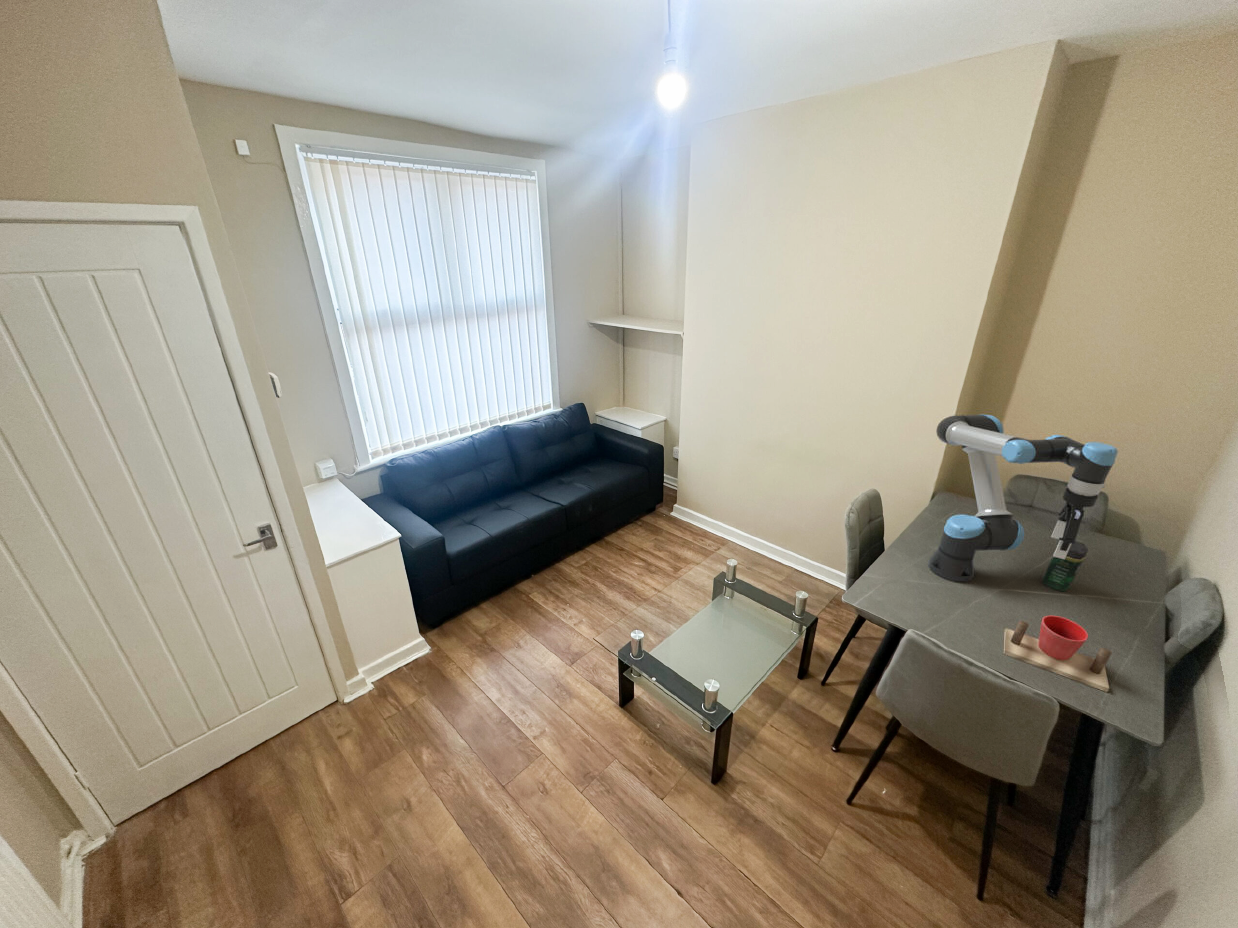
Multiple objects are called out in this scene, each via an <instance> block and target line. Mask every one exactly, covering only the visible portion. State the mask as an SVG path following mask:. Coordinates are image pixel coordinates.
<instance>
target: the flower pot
mask: <svg viewBox="0 0 1238 928" xmlns="http://www.w3.org/2000/svg"><path fill="white" fill-rule="evenodd" d="M1088 638H1089V635H1088V632H1087V631H1086V630H1085V628H1083V627H1082V626H1081V625H1079V624H1078V623H1077V622H1074V621H1072V620H1070V619H1068V618H1066V617H1062V616H1058V615H1046V616H1043V617H1042V620H1041V623H1040V630H1039V636H1038V639H1039V643H1038V646H1039V648H1040V649H1041V650H1042V651H1043V652H1044V653H1045V654H1047V655H1048V656H1050V657H1052V658H1055V659H1059V660H1068V659H1070V658H1071V657H1072V656H1073V655H1074V654H1075V653H1076V652H1078V651H1079V649H1080V648H1081V647H1082V646H1083V645H1084V644H1085V643H1086V641H1087V640H1088Z"/></svg>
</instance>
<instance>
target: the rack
mask: <svg viewBox="0 0 1238 928" xmlns="http://www.w3.org/2000/svg"><path fill="white" fill-rule="evenodd" d="M1028 628H1029V623H1027V622H1026V621H1024V620H1019V621H1018V623H1017V625H1016V628H1015V630H1013V629H1010V628H1007V627H1005V629H1004V636H1003V637H1004V638H1003V639H1004V640H1003V641H1004V642H1003V654H1004V655H1005V656H1008V657H1011V658H1014V659H1016V660H1018V661H1022V662H1025V663H1027V664H1029V665H1033V666H1035V667H1038V668H1041V669H1044V670H1047V671H1049V672H1052V673H1053V674H1054V673H1055V674H1056V675H1060V676H1062V677H1065V678H1067V679H1070V680H1073V681H1076V682H1079V683H1082V684H1084V685H1087V686H1089V687H1091V688H1093V689H1094V688H1095V689H1098V690H1100V691H1102V692H1106V693H1108V692H1109V689H1110V685H1109V681H1108V676H1107V671H1106V664H1107V662H1108V661H1109V660H1110V659H1109V658H1110V657H1111V656H1112V654H1113V653H1112V651H1111V650H1109V649H1108V648H1104V647H1101V648H1099V650H1098V652H1097V654H1096V655H1095V658H1094V657H1090V656H1088V655H1085V654H1082V653H1079V652H1078V651H1076V653H1075V654H1074V655H1073V656H1072V657H1071V658H1070V659H1068V660H1059V659H1055V658H1052V657H1050V656H1048V655H1047V654H1045V653H1044V652H1043V651H1042V650H1041V649H1040V648H1039V646H1038V643H1039V638H1036V637H1034V636H1031V635H1028V634H1026V632H1027V630H1028Z"/></svg>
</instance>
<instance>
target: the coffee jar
mask: <svg viewBox="0 0 1238 928" xmlns="http://www.w3.org/2000/svg"><path fill="white" fill-rule="evenodd" d="M1088 550H1089V549H1088V546H1087V545H1085V543H1083V542H1080V541H1077V540H1075V543H1074V544H1071V546H1070V549H1069V551H1068V553H1067V555H1066V557H1065V559H1061V558H1058V557H1054V556H1053V555H1052V558H1051V559H1050V562H1049V564H1048V566H1047V568H1046V570H1045V572H1044V575H1043V577H1042V579H1041V583H1042V584H1043V585H1045V586H1047V587H1048V588H1049V589H1052V590H1056V591H1059V592H1066V591H1068V590H1069V589H1071V587H1072V584H1073V582H1074V580H1075V578H1076V577H1077V575H1078V573H1079V571H1080V568H1081V566H1082V564H1083V561H1084V560H1085V558H1086V555H1087V553H1088ZM1055 551H1056V549H1055ZM1055 551H1054V552H1055Z"/></svg>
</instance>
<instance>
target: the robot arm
mask: <svg viewBox="0 0 1238 928" xmlns="http://www.w3.org/2000/svg"><path fill="white" fill-rule="evenodd" d="M936 436H937V437H938V440H940V441H941V442H943V443H944V444H948V445H951V446H954V447H955V446H961V449H962V451H963V452H965V453H967V455H968V461H969V467H970V473H971V478H972V483H973V484H972V485H973V489H974V495H975V500H976V505H977V511H978V512H977V513H976V514H975V515H968V514H955V515H953V516H950V517H949V518H948V519H947V520H946V523H945V525H944V527H943V533H942V536H941V538H940V542H939V545H938V547H937V549H936V550H935V552H933V554H932V555H931V556H930V557H929V560H928V563H927V566H928V568H929V569H930V571H931V572H932V573H933V574H935V575H937V576H939V577H940V578H943V579H946V580H948V581H953V582H959V583H965V582H969V581H971V580H972V579H973V578H974V574H975V565H974V557H975V555H976V552H977V551H1007V550H1013V549H1016V548H1018V547H1019V546H1020V545H1021V544H1022V543H1023V541H1024V538H1025V530H1024V527H1023V525H1022V524H1021V522H1020V521H1018V520H1017V519H1015V518H1013V513H1012V512H1010V511H1008V510H1007V507H1006V501H1005V498H1004V497H1005V496H1004V493H1003V487H1002V482H1001V477H1000V471H999V466H998V461H997V457H996V456H1000V457H1002V458H1003V459H1004V460H1006V462H1008V463H1009V464H1020V465H1022V464H1036V463H1041V464H1042V463H1062V464H1065V465H1067V466H1068V467H1072V468H1074V469H1073V472H1072V474H1071V476H1070V478H1069V480H1068V483H1067V485H1066V487H1067V488H1066V489H1064V490H1065V491H1064V493H1063V496H1062V499H1063V500H1064V501H1065V504H1064V505H1063V507H1062V508H1061V511H1060V512H1059V513H1058V515H1059V517H1058V520H1057V522H1056V524H1055V527H1054V529H1053V531H1052V534H1051V536H1050V537H1051V538H1053V539H1057V540H1058V541H1059V542H1058V544H1057V546H1056V547H1055V548H1056V549H1055V550H1056V551H1054V552H1053V555H1052V557H1053V556H1054V557H1058V558H1061V559H1065V557H1066V555H1067V553H1068V551H1069V549H1070V546H1071V544H1074V543H1075V541H1076V538H1077V535H1078V532H1079V529H1080V526H1081V522H1082V520H1083V518H1084V516H1085V515H1084V514H1085V510H1084V508H1092V507H1094V506H1095V505H1096V503H1097V500H1098V498H1099V494H1101V493H1100V492H1101V491H1102V489H1105V488H1106V484H1104V483H1105V482H1106V479H1107V477H1108V476H1109V473H1110V472H1111V469H1112V468H1113V466H1114V464H1115V463H1116V458H1117V455H1118V448H1116V447H1115V446H1113V445H1110V444H1106V443H1103V442H1098V441H1096V442H1095V441H1090V442H1086V443H1085V444H1084V443H1081V442H1079V441H1077V440H1075V439H1072V438H1071V437H1068V436H1064V435H1061V434H1052V435H1050V436H1047V437H1046V438H1045V439H1029V438H1028V439H1027V438H1024V437H1019V436H1014V435H1010V434H1005V432H1004V426H1003V424H1002V422H1001V420H1000V419H999V418H997V417H995V416H994V415H991V414H982V413H981V414H980V413H979V414H967V415H966V414H965V415H963V414H962V415H959V414H957V415H950V416H948V417H945V418H943V419H942V420H940V422H939V423H938V425H937V426H936Z"/></svg>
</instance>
